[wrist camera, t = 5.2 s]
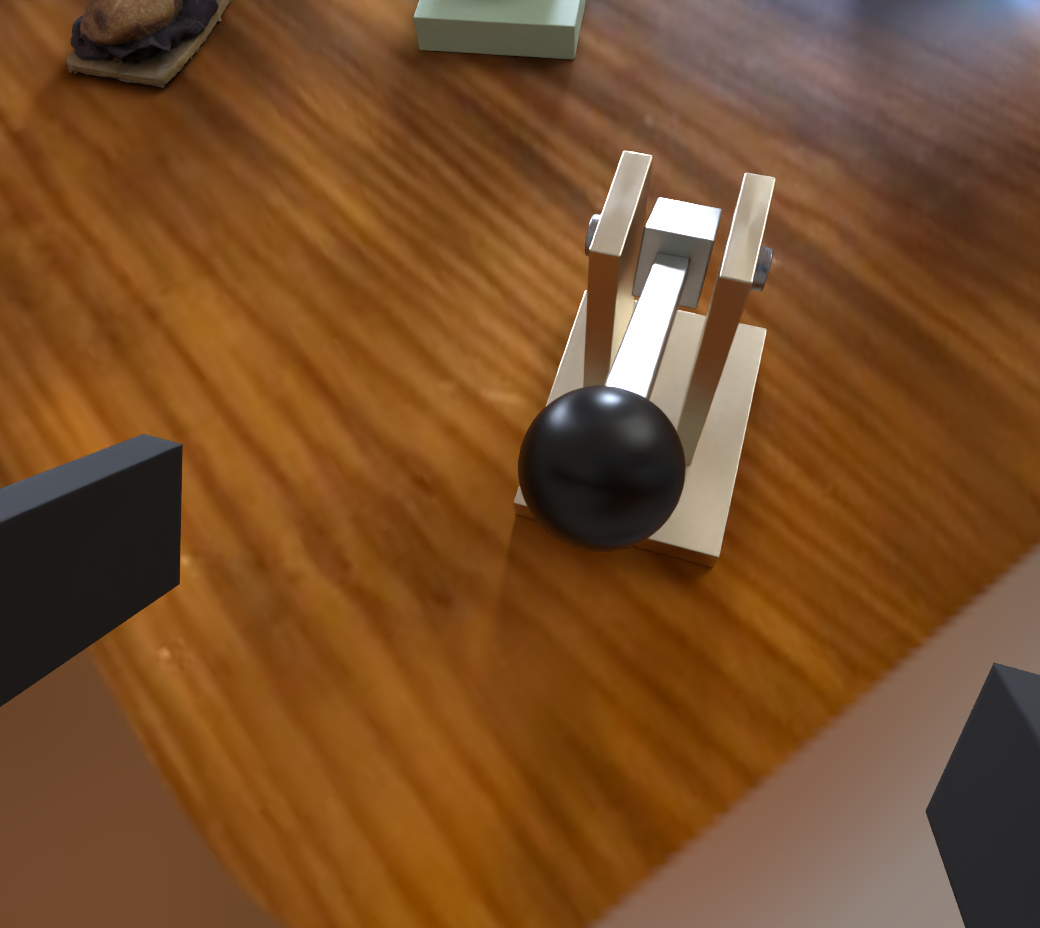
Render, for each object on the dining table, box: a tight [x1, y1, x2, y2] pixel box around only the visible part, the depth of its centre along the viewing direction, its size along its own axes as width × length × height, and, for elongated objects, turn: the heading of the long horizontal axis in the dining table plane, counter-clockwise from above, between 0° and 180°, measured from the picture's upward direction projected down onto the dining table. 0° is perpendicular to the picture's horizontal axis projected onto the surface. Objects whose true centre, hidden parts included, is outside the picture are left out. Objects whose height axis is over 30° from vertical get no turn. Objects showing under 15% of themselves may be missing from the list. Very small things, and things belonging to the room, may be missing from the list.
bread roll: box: [66, 0, 232, 88], centre depth 50 cm, size 11×8×4 cm
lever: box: [518, 198, 722, 552], centre depth 21 cm, size 15×4×4 cm, turn 164°
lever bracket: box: [514, 151, 776, 568], centre depth 30 cm, size 12×9×14 cm
